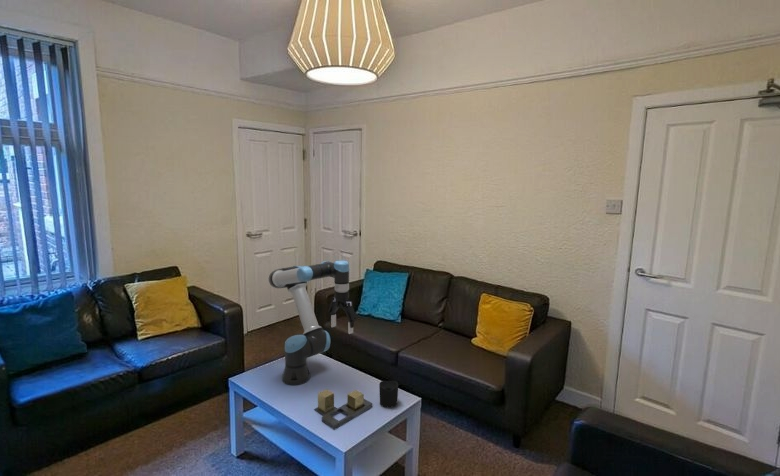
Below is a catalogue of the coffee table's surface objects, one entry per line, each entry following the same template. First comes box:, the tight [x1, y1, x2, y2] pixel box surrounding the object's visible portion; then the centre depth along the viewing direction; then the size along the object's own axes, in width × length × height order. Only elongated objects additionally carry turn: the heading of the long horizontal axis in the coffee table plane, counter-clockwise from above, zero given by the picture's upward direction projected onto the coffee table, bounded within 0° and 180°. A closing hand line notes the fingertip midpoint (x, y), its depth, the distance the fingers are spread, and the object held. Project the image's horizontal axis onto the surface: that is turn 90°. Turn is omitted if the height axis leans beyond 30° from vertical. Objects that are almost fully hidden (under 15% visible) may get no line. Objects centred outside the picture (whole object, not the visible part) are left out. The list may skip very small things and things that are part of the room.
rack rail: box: [321, 398, 373, 430], centre depth 186 cm, size 9×24×2 cm, turn 138°
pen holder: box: [378, 380, 399, 409], centre depth 195 cm, size 9×9×10 cm
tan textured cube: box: [317, 388, 335, 413], centre depth 189 cm, size 6×6×8 cm
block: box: [346, 389, 365, 411], centre depth 190 cm, size 6×6×8 cm
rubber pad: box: [313, 406, 338, 417], centre depth 189 cm, size 8×8×1 cm
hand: (342, 329), depth 207 cm, fingers open, 13 cm apart
